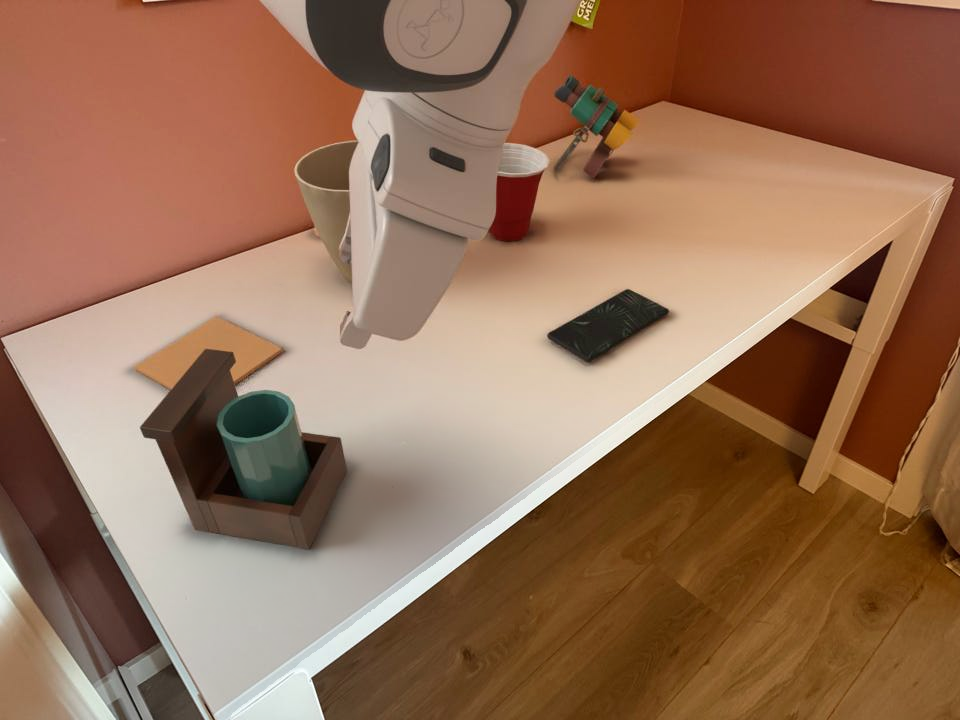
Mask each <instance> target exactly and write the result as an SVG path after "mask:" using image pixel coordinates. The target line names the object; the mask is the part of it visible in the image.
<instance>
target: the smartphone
mask: <svg viewBox="0 0 960 720" xmlns="http://www.w3.org/2000/svg"><path fill="white" fill-rule="evenodd" d="M669 312H670V310H669V309H668V308H667V307H665V306H663V305H661V304H659V303H657V302H655V301H653V300H651V299H650V298H647V297H645V296H643V295H641V294H639V293H637V292H635V291H634V290H632V289H629V288H626V289H624V290H622V291H621V292H619V293H617V294H616V295H614V296H611V297H610V298H608V299H607V300H605V301H603V302H601V303H600V304H597V305H596V306H593V307H592V308H590V309H589V310H587V311H585V312H583V313H581V314H580V315H577V316H576V317H574V318H572V319H571V320H569V321H567V322H565V323H563V324H562V325H560V326H558V327H556V328H555V329H553V330H551V331H549V332H548V333H547V339H548V340H549V341H551V342H553V343H554V344H556V345H558V346H559V347H561V348H562V349H564V350H566V351H567V352H568V353H571V354H572V355H574V356H575V357H577V358H579V359H581V360H582V361H584V362H585V363H587V364H589V363H592V362H594V361H595V360H597V359H599V358H601V357H603V356H604V355H605V354H607V353H609V351H611V350H613V349H615V348H616V347H618V346H619V345H621V344H623V343H624V342H626V341H627V340H629V339H630V338H632V337H633V336H636V335H637V334H638V333H640V332H642V331H643V330H645V329H647V328H649V327H650V326H651V325H653V324H655V323H656V322H658V321H659V320H661V319H663V318H665V317H666V316H667V315H668V314H670V313H669Z"/></svg>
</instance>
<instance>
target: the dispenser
mask: <svg viewBox="0 0 960 720" xmlns="http://www.w3.org/2000/svg"><path fill="white" fill-rule="evenodd" d="M235 363H236V360H235V356H234V353H233V352H229V351H221V350H213V349H205V350H204V351H203V352H202V353H201V354H200V356H199V357H198V358H197V359H196V360H195V362H194V363H193V364H192V365H191V366H190V368H189V369H188V370H187V371H186V372H185V374H184V375H183V376H182V377H181V378H180V380H179V381H178V382H177V383H176V384H175V386H174V387H173V388H172V389H171V390H169V391H168V393H167V394H165V396H164V397H163V399H162V400H161V401H160V402H159V403H158V405H156V407H155V408H154V409H153V411H152V412H151V413H150V414H149V415H148V417H147V418H145V420H144V421H143V422H142V423H141V425H140V426H139V429H140V432H141V434H142V436H143V438H145V439H151V440H155V442H156V444H157V446H158V449H159V451H160V453H161V455H162V458H163V460H164V462H165V465H166V467H167V469H168V472H169V474H170V477H171V479H172V481H173V483H174V485H175V487H176V491H177V492H178V495H179V497H180V499H181V501H182V504H183V506H184V508H185V511H186V513H187V515H188V517H189V520H190V522H191V524H192V527H193V529H194V530H196V531H203V532H207V533H209V532H210V533H213V534H217V535H225V536H231V537H237V538H242V539H249V540H253V541H254V540H255V541H260V542H265V543H271V544H277V545H282V546H288V547H293V548H300V549H305V550H309V549H310V548H311V546H312V544H313V542H314V539H315V537H316V535H317V533H318V532H319V529H320V527H321V525H322V523H323V521H324V519H325V517H326V515H327V512H328V511H329V509H330V506H331V504H332V502H333V500H334V498H335V497H336V494H337V492H338V491H339V488H340V486H341V483H342V481H343V480H344V477H346V476H345V475H346V474H347V471H348V466H347V463H346V458H345V452H344V447H343V443H342V438H341V437H339V436H332V435H331V436H330V435H325V434H317V433H310V432H303V431H301V433H302V437H303V441H304V445H305V449H306V453H307V457H308V461H309V465H310V469H311V475H310V477H309V478H308V480H307V482H306V484H305V486H304V488H303V490H302V492H301V493H300V495H299V497H298V499H297V501H296V503H295V505H294V507H293V506H288V505H282V504H276V503H270V502H263V501H257V500H251V499H245V498H242V496H241V493H240V490H239V488H238V485H237V482H236V479H235V476H234V474H233V471H232V468H231V465H230V462H229V459H228V457H227V454H226V451H225V448H224V445H223V442H222V440H221V437H220V434H219V431H218V428H217V419H218V415H219V413H220V412H221V411H222V409H223V408H224V407H225V405H226V404H228V403H229V402H231V401H232V400H234V399H235V398H236V397H238V396H239V394H238V391H237V387H236V384H234V381H233V378H232V375H231V372H230V369H231V368H232V367H233V365H234V364H235Z"/></svg>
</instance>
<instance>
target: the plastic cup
mask: <svg viewBox="0 0 960 720" xmlns="http://www.w3.org/2000/svg"><path fill="white" fill-rule="evenodd" d="M502 148H503V154H502V157H501V160H500V164H499V168H498V173H497V183H496V214H495V218H494V221H493V223H492V225H491V227H490V229H489V230H488V232H489V233H490V236H491V237H492V238H494V239H495V240H498V241H501V242H514V241H515V242H517V241H519V240H522V239H524V238H525V237H527V235H528V232H529V230H530V226H531V221H532V216H533V213H534V208H535V206H536V205H535V204H536V201H537V196H538V191H539V186H540V183H541V179H542V177H543V174H544V172H545V171H546V170H547V168H548V166H549V164H550V159H549V157H548V156H547V154H546V153H544V152H543V151H542V150H540V149H538V148H536V147H532V146H530V145H526V144H520V143H514V142H505V143H504V144H503V146H502Z"/></svg>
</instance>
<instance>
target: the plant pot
mask: <svg viewBox="0 0 960 720" xmlns="http://www.w3.org/2000/svg"><path fill="white" fill-rule="evenodd" d="M358 142H359V141H358V140H357V139H356V140H347V141H341V142H335V143H330V144H328V145H327V144H326V145H324V146H320V147H318V148H315V149H313V150H311V151H310V152H308V153H306V154H304V155H303V156H302V157H301V158H300V159H298V161H296V164H295V166H294V169H293V170H294V171H293V172H294V175H295V179H296V182H297V184H298V187H299V190H300V193H301V196H302V199H303V200H304V203H305V206H306V209H307V211H308V214H309V213H310V215H309V217H310V216H311V218H312V220H313V223H314V225H315V227H316V229H317V231H318V233H319V235H320V237H319V238H320V239H321V241H322V243H323V245H324V247H325V249H326V251H327V252H328V254H329V256H330V257H331V259H332V261H333V262H334V264H335V266H336V267H337V269H338V271H339V272H340V273H341V276H343V278H344V279H345V280H346V281H347V282H348V283H350V284H352V266H351V265H350V264H345V263H342V262H341V261H340V258H339V246H340V244H341V241H342V239H343V237H344V234H345V231H346V227H347V222H348V218H349V214H350V190H349V168H350V163H351V160H352V157H353V154H354V151H355V149H356V147H357V145H358Z"/></svg>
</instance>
